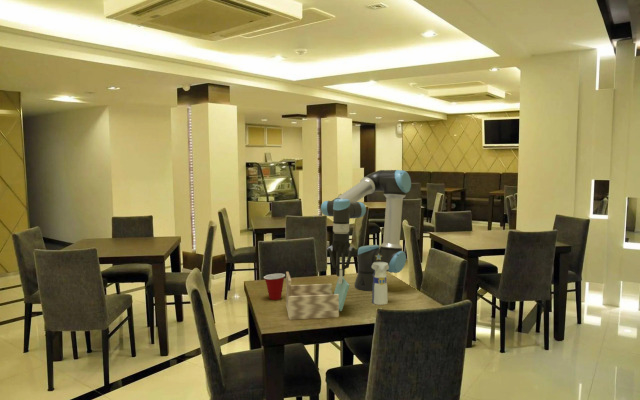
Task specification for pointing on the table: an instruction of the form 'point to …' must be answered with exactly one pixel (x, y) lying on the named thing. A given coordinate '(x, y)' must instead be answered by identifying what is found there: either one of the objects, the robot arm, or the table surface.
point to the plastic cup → (274, 285)
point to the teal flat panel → (341, 292)
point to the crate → (310, 301)
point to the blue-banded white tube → (379, 282)
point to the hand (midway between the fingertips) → (340, 283)
